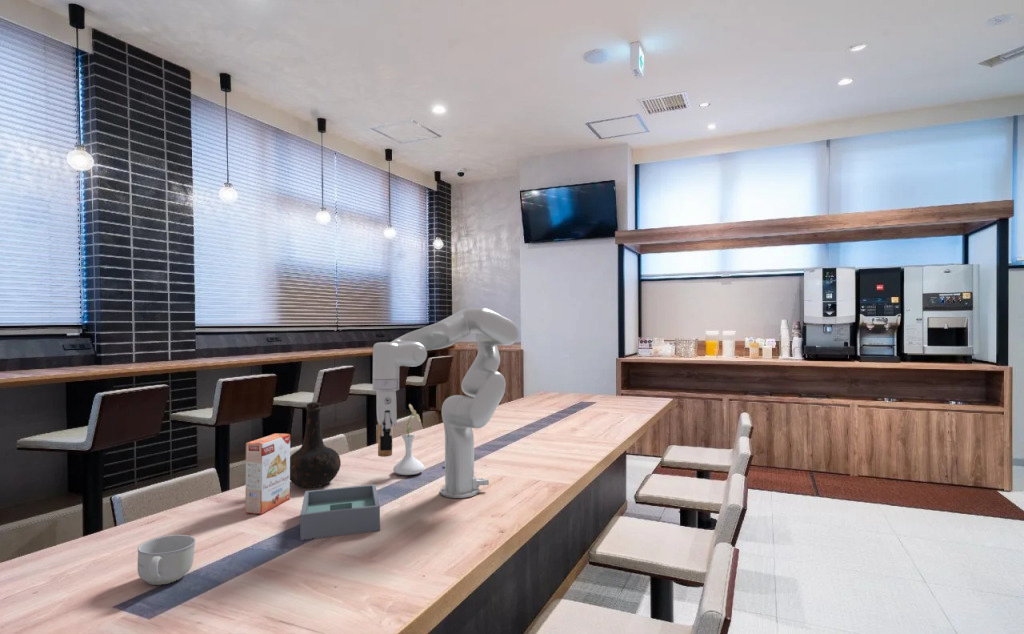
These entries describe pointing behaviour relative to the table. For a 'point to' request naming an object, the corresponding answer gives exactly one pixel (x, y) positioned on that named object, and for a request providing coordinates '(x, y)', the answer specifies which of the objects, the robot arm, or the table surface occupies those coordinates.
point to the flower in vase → (409, 453)
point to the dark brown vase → (313, 455)
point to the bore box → (339, 512)
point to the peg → (380, 453)
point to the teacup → (165, 558)
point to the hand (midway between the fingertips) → (385, 447)
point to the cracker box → (267, 473)
